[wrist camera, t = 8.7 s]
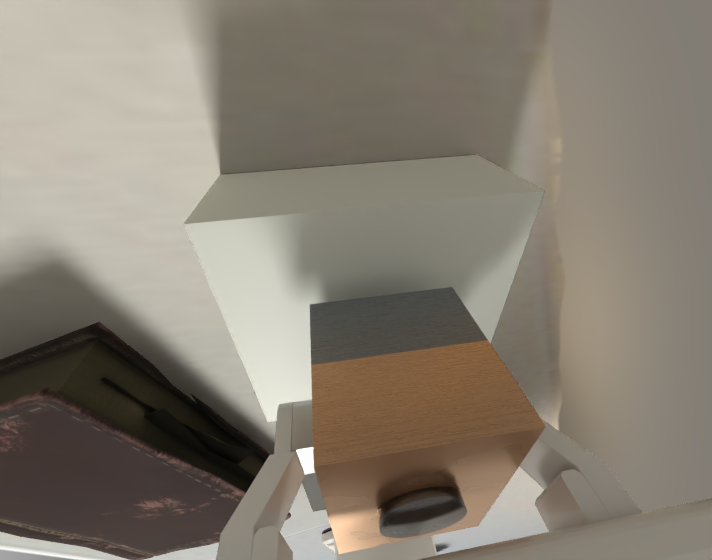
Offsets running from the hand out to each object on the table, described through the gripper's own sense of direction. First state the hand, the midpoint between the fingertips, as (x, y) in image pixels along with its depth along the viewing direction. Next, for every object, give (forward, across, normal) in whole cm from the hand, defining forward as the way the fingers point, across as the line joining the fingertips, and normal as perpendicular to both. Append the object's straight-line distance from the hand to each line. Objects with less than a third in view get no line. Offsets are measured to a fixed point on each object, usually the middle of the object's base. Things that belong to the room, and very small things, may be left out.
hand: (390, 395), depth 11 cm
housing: (+2, 0, 0) cm, 2 cm away
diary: (+9, +20, +16) cm, 27 cm away
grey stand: (+8, 0, 0) cm, 8 cm away
